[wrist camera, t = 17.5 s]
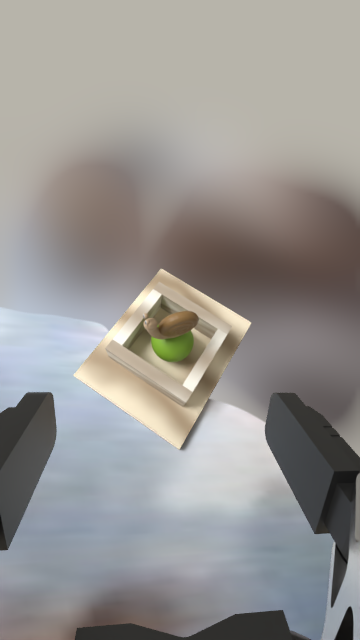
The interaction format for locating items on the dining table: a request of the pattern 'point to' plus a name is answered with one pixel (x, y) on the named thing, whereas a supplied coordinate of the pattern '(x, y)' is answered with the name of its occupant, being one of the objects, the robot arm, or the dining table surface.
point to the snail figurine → (172, 335)
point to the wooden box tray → (156, 374)
